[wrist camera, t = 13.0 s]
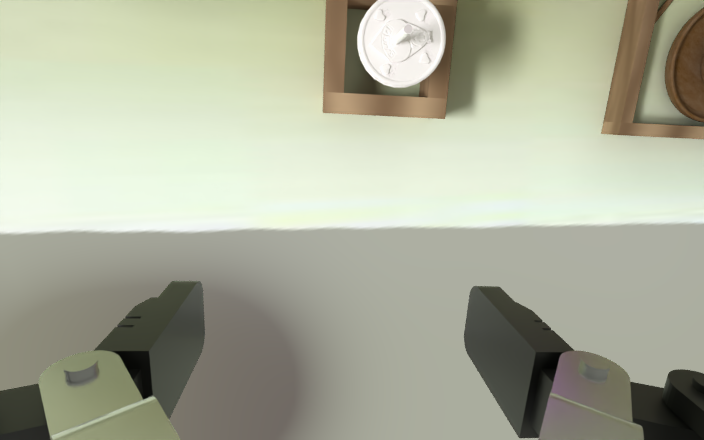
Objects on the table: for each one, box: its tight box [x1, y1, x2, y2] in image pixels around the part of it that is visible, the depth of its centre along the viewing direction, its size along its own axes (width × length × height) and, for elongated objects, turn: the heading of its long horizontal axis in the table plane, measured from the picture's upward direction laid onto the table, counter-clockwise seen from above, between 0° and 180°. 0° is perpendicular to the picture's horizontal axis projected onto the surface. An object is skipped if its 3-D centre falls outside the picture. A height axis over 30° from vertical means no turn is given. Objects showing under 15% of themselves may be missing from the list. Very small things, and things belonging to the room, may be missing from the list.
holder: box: [323, 0, 457, 119], centre depth 36 cm, size 11×11×4 cm
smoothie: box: [357, 0, 446, 88], centre depth 31 cm, size 6×6×14 cm
